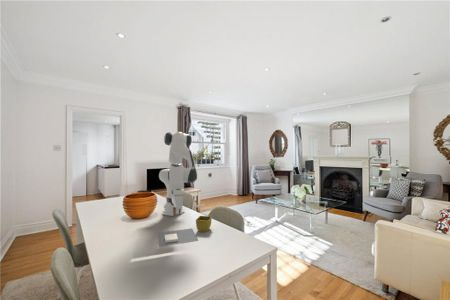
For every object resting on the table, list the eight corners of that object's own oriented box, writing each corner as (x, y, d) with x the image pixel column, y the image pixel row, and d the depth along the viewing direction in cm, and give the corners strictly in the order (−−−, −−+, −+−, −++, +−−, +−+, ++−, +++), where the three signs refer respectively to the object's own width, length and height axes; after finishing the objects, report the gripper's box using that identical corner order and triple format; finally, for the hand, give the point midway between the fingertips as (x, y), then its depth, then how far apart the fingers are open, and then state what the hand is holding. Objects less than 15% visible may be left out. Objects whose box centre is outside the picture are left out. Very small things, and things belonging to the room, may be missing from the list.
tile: (164, 234, 120) (165, 240, 112) (176, 233, 122) (177, 238, 115) (164, 237, 120) (165, 243, 112) (176, 235, 122) (177, 241, 115)
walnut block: (172, 214, 122) (172, 207, 122) (179, 213, 123) (179, 206, 123) (173, 215, 118) (173, 209, 118) (180, 215, 120) (180, 208, 120)
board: (157, 234, 127) (157, 232, 127) (192, 230, 134) (192, 228, 134) (159, 248, 108) (159, 246, 108) (198, 242, 116) (198, 240, 116)
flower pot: (208, 234, 127) (208, 220, 127) (195, 233, 129) (195, 219, 129) (211, 229, 136) (212, 216, 136) (199, 228, 137) (199, 215, 138)
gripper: (169, 187, 130) (169, 208, 129) (173, 192, 111) (173, 217, 110) (179, 186, 132) (179, 207, 132) (184, 192, 113) (184, 216, 113)
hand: (176, 212), depth 121 cm, fingers closed on walnut block, 4 cm apart
